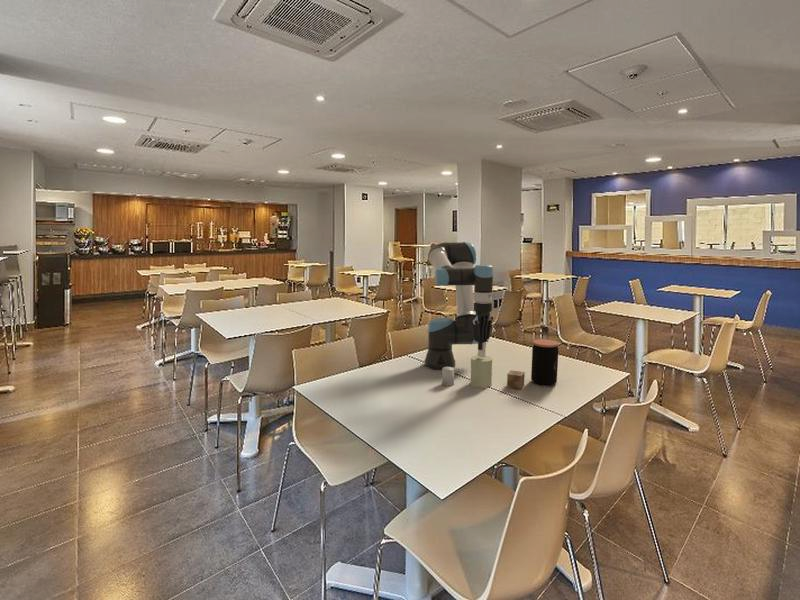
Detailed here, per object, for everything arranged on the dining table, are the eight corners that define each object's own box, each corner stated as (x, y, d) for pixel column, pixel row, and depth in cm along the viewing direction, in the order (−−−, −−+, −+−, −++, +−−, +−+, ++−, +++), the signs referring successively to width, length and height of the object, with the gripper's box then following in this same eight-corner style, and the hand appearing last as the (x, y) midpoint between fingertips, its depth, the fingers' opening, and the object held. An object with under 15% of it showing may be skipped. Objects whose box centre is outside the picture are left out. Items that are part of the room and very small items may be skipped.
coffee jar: (558, 387, 181) (560, 345, 178) (532, 385, 183) (534, 344, 180) (554, 379, 191) (556, 339, 189) (529, 377, 194) (531, 338, 191)
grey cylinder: (439, 384, 186) (440, 368, 185) (447, 381, 189) (447, 366, 188) (448, 387, 182) (449, 371, 181) (456, 384, 186) (456, 368, 185)
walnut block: (506, 387, 181) (507, 374, 180) (509, 383, 187) (510, 370, 186) (521, 390, 179) (522, 376, 178) (524, 385, 184) (524, 372, 183)
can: (465, 384, 185) (466, 357, 184) (477, 379, 192) (478, 353, 190) (484, 389, 179) (485, 361, 177) (495, 383, 186) (496, 357, 184)
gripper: (481, 304, 173) (479, 361, 177) (499, 301, 182) (497, 355, 186) (466, 302, 178) (465, 358, 182) (484, 299, 187) (483, 352, 191)
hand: (481, 356), depth 184 cm, fingers closed
